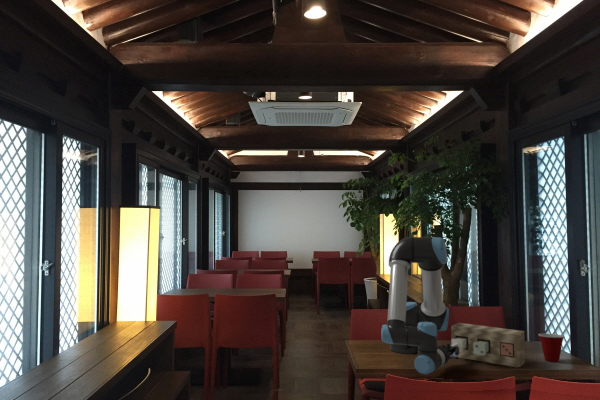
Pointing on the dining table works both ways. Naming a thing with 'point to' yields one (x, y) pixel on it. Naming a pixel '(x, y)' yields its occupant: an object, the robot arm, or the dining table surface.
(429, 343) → the robot arm
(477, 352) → the button
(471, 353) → the console
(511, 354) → the button
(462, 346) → the button
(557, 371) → the dining table surface
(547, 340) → the plastic cup
